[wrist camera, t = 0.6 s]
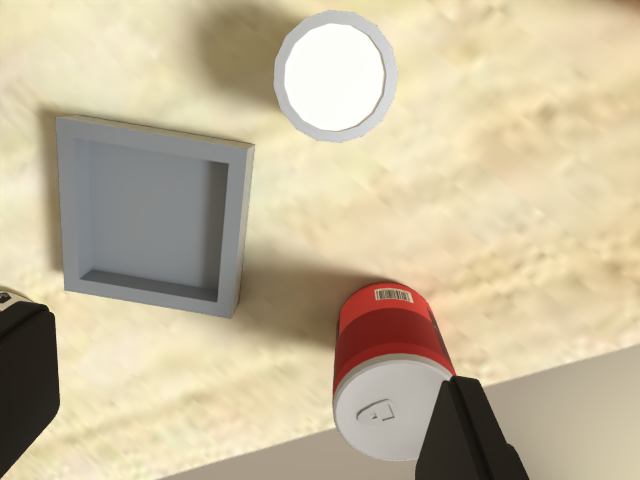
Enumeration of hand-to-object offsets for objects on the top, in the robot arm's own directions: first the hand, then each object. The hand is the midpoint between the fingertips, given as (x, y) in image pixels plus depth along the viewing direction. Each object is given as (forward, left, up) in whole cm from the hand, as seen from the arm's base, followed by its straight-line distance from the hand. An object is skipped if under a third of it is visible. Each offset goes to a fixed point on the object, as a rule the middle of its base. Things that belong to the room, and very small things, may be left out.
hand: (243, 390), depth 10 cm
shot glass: (-7, 0, -24) cm, 25 cm away
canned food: (+11, +8, -24) cm, 27 cm away
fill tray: (+5, -12, -24) cm, 27 cm away
